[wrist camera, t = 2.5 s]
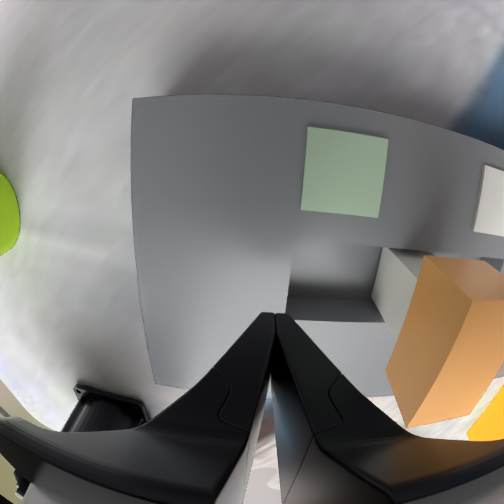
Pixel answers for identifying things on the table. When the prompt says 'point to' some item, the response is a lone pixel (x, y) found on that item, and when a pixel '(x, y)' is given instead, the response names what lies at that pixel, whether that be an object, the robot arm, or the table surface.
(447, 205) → the breaker box
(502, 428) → the orange juice
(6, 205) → the soap dispenser
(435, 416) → the lever
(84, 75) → the table surface
